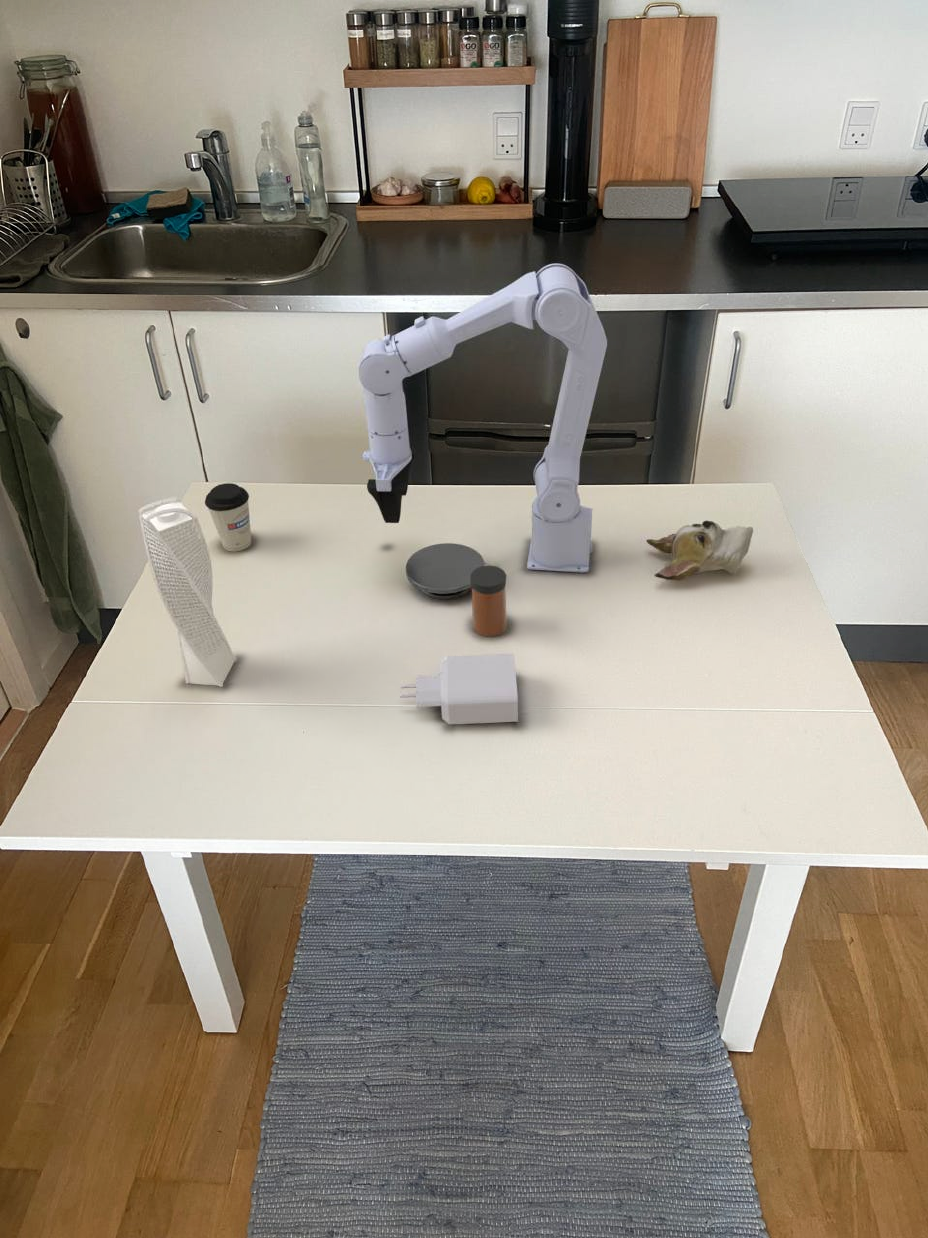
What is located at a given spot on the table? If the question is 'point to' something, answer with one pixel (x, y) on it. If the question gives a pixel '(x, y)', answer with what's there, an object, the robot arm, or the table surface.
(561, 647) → the table surface
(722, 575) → the table surface
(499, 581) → the spice jar
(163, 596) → the skyscraper
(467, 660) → the charger
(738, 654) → the table surface
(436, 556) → the steel stand
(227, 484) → the coffee cup
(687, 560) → the ceramic sculpture
